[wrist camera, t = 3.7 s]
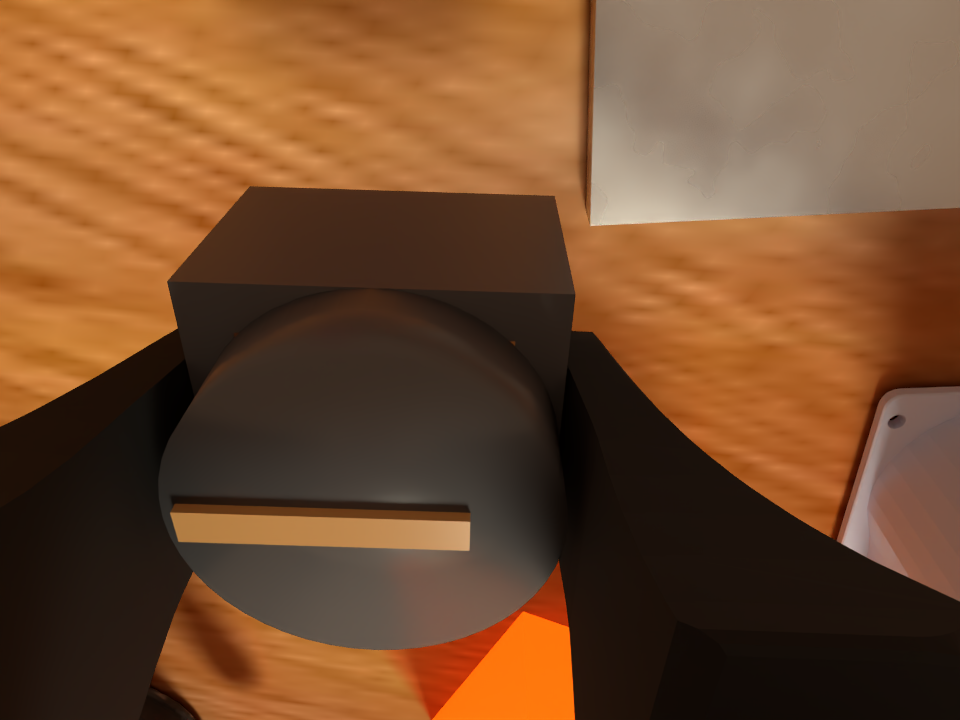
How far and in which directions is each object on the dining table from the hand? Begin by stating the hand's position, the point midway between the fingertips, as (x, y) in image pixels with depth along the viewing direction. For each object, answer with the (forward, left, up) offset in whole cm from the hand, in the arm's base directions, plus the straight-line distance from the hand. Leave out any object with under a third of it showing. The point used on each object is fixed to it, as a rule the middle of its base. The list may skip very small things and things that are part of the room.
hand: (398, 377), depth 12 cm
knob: (0, 0, -2) cm, 2 cm away
